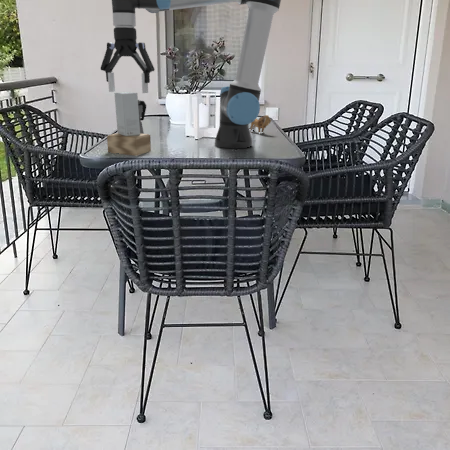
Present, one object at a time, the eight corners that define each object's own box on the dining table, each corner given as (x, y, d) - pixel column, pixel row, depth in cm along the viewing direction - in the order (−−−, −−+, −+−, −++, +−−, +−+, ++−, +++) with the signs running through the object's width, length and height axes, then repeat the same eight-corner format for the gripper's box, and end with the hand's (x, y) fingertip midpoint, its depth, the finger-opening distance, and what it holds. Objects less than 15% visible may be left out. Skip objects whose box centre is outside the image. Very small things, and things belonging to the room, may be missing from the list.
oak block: (150, 151, 178) (150, 134, 176) (136, 155, 169) (136, 137, 167) (123, 148, 182) (122, 131, 180) (107, 152, 173) (107, 135, 171)
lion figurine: (272, 134, 225) (273, 115, 222) (264, 135, 222) (265, 115, 219) (251, 130, 236) (252, 112, 233) (243, 131, 233) (244, 112, 230)
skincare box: (140, 135, 172) (139, 93, 167) (124, 136, 168) (122, 93, 164) (131, 132, 178) (129, 91, 173) (115, 133, 175) (113, 91, 170)
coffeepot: (115, 135, 210) (113, 93, 205) (132, 133, 217) (131, 92, 211) (137, 139, 201) (136, 95, 195) (154, 137, 208) (154, 94, 202)
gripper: (162, 27, 160) (164, 92, 167) (100, 28, 169) (104, 90, 176) (151, 26, 154) (154, 94, 161) (87, 27, 162) (92, 91, 169)
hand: (128, 92), depth 168 cm, fingers open, 13 cm apart
